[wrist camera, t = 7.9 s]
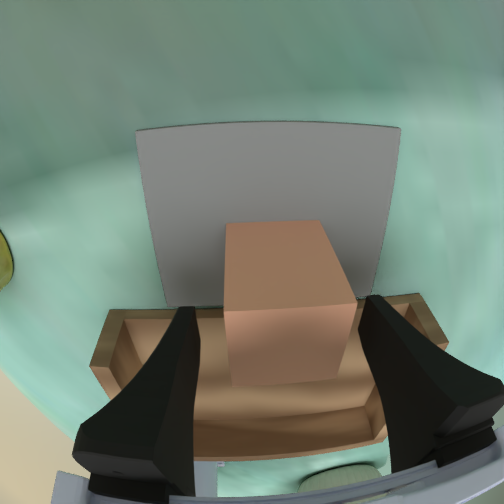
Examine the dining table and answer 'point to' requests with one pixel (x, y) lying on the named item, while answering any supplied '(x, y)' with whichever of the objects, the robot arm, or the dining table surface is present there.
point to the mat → (263, 194)
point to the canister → (342, 479)
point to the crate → (261, 388)
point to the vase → (5, 263)
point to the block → (284, 303)
